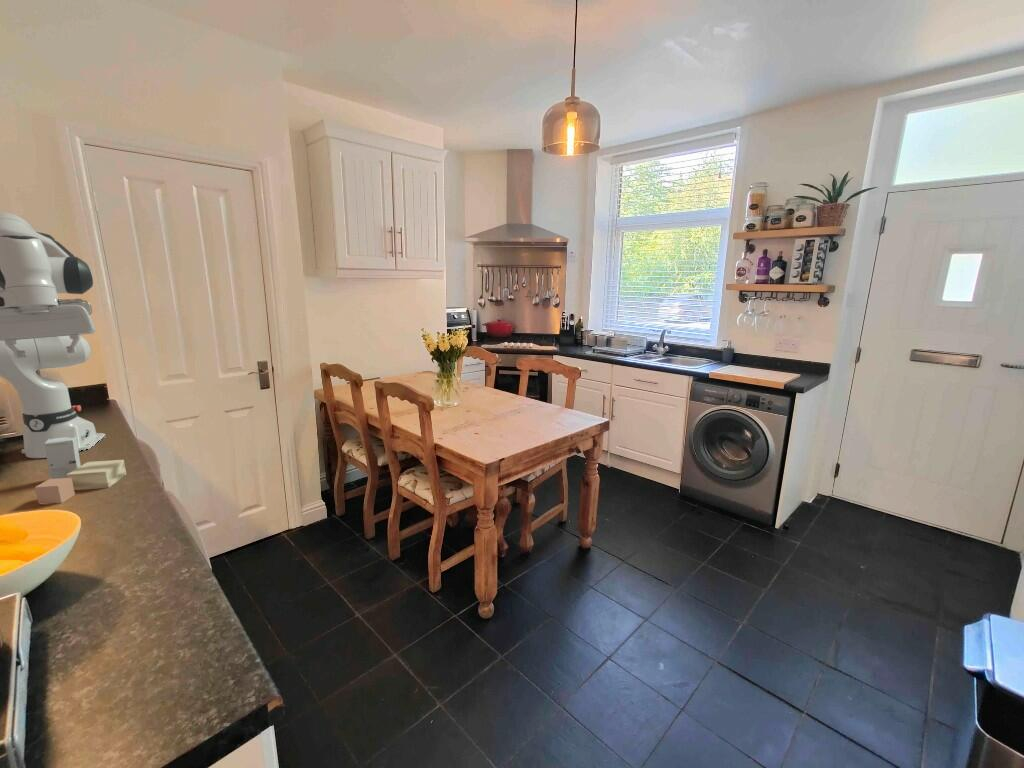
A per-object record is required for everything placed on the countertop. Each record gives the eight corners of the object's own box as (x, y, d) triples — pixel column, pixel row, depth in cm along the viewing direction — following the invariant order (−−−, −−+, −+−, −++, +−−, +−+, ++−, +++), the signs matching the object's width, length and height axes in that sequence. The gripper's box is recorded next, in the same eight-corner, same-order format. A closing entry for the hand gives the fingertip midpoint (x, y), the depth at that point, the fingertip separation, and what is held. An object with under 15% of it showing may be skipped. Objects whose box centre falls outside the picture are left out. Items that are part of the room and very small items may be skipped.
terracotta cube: (53, 496, 121) (49, 479, 120) (75, 494, 123) (71, 477, 121) (38, 505, 117) (34, 487, 116) (61, 503, 118) (57, 485, 117)
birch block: (90, 477, 133) (87, 461, 132) (126, 475, 135) (123, 459, 134) (70, 491, 125) (66, 474, 124) (108, 488, 127) (105, 471, 126)
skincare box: (51, 484, 128) (42, 443, 125) (55, 478, 132) (46, 439, 129) (80, 479, 131) (72, 440, 129) (83, 473, 135) (76, 435, 132)
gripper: (92, 299, 121) (103, 350, 122) (-19, 305, 110) (-5, 361, 112) (86, 296, 116) (98, 349, 117) (-31, 301, 105) (-16, 360, 106)
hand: (47, 355), depth 114 cm, fingers open, 8 cm apart
